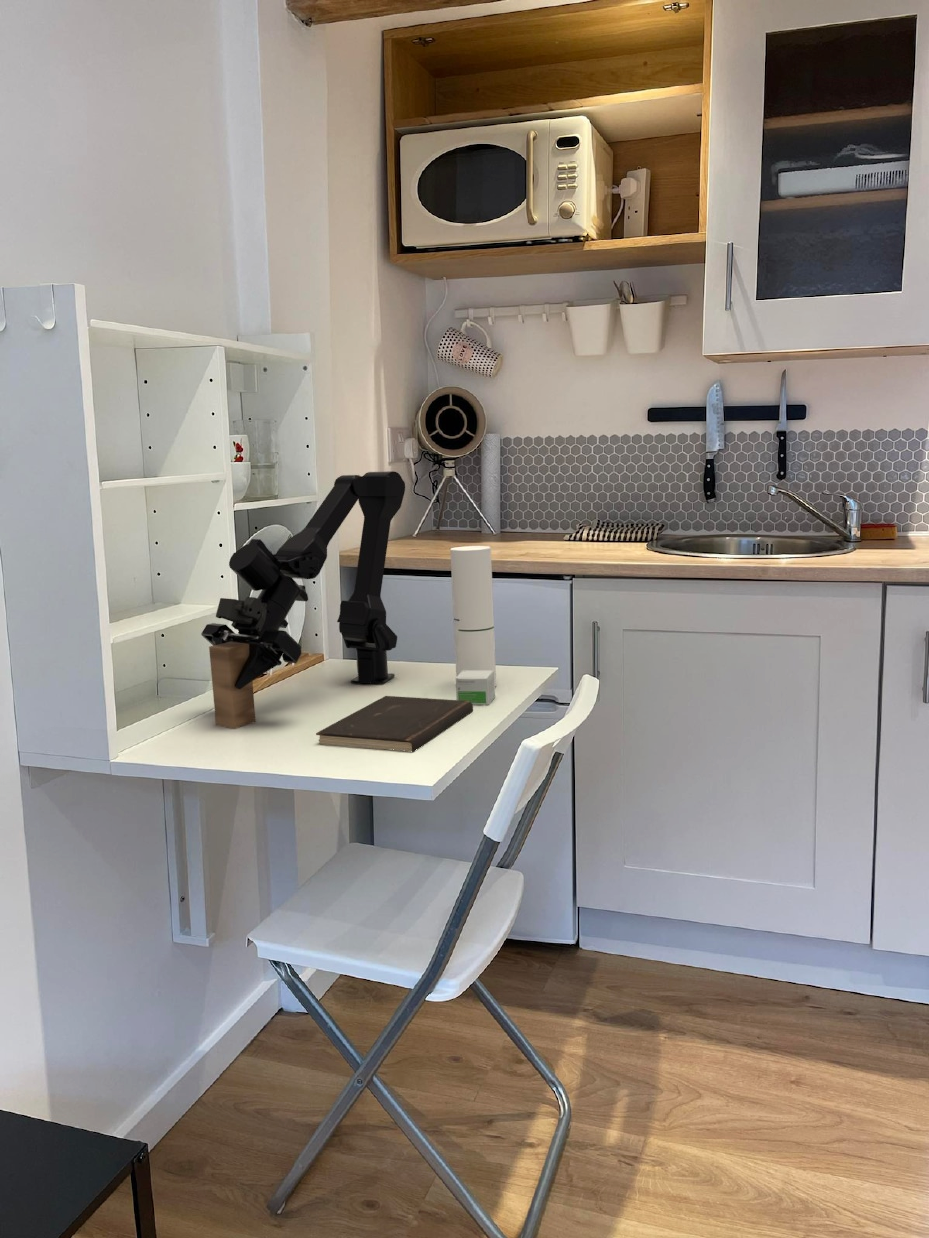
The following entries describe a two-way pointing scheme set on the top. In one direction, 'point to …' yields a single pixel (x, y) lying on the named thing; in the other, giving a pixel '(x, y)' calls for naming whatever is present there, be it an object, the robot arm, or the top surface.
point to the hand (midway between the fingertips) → (225, 685)
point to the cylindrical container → (473, 608)
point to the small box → (475, 686)
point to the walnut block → (231, 685)
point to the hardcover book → (396, 723)
